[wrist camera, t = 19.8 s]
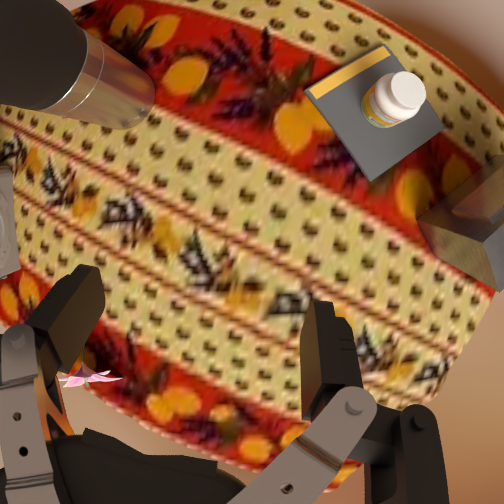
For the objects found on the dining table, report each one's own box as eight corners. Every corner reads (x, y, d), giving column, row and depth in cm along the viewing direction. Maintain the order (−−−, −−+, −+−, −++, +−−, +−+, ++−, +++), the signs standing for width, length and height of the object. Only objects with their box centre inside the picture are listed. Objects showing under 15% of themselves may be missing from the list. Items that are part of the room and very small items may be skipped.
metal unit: (414, 217, 38) (481, 239, 22) (493, 153, 34) (566, 150, 19) (435, 258, 39) (500, 297, 23) (510, 192, 35) (581, 203, 20)
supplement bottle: (391, 85, 33) (420, 62, 24) (404, 124, 34) (439, 110, 25) (354, 92, 34) (376, 67, 25) (368, 132, 35) (395, 118, 26)
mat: (303, 92, 36) (304, 90, 35) (382, 46, 33) (384, 43, 32) (368, 181, 37) (370, 181, 36) (441, 129, 35) (445, 128, 34)
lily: (70, 366, 50) (65, 409, 43) (47, 327, 43) (36, 375, 36) (127, 366, 53) (126, 410, 45) (111, 326, 46) (107, 376, 38)
